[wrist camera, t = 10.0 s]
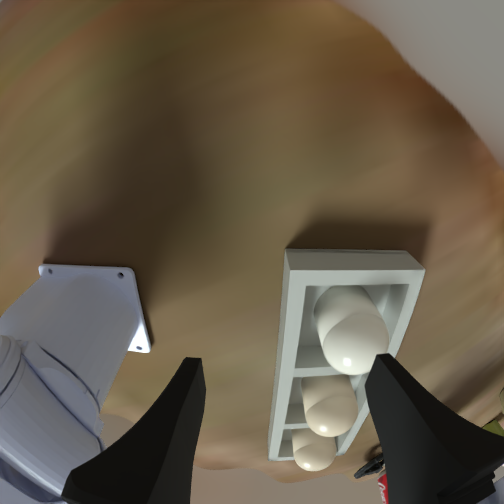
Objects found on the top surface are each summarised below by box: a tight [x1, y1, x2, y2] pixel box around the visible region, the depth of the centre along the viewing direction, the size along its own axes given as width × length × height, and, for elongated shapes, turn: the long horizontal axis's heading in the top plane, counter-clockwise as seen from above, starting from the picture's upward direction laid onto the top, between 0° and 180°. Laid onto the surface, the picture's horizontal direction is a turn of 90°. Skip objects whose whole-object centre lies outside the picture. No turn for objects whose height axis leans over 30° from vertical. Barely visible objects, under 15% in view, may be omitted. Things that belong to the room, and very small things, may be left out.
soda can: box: [378, 470, 388, 504], centre depth 32 cm, size 7×7×13 cm
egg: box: [313, 285, 390, 375], centre depth 17 cm, size 4×4×6 cm
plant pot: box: [483, 420, 504, 436], centre depth 31 cm, size 9×9×9 cm
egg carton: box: [268, 249, 425, 471], centre depth 21 cm, size 9×25×6 cm, turn 179°
